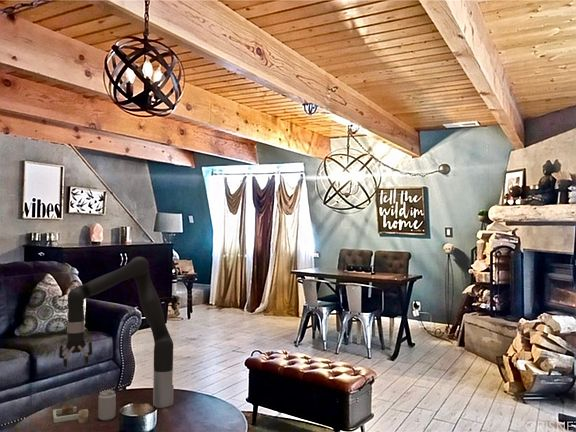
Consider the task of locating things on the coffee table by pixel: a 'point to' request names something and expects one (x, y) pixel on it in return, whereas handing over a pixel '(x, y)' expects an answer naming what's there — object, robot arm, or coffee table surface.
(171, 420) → the coffee table surface
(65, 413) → the walnut block
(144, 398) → the coffee table surface
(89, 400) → the coffee table surface
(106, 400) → the pale grey jar
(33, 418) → the coffee table surface
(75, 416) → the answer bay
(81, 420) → the cork cylinder
